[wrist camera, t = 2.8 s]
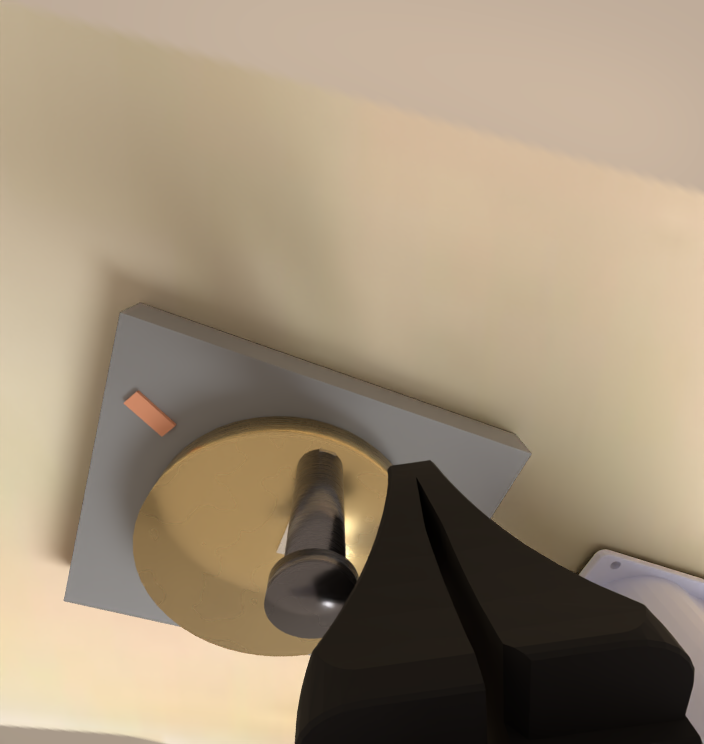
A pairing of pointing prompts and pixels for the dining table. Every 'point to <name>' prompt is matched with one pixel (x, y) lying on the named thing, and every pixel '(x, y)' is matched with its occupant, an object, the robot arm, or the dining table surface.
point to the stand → (231, 404)
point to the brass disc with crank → (261, 532)
